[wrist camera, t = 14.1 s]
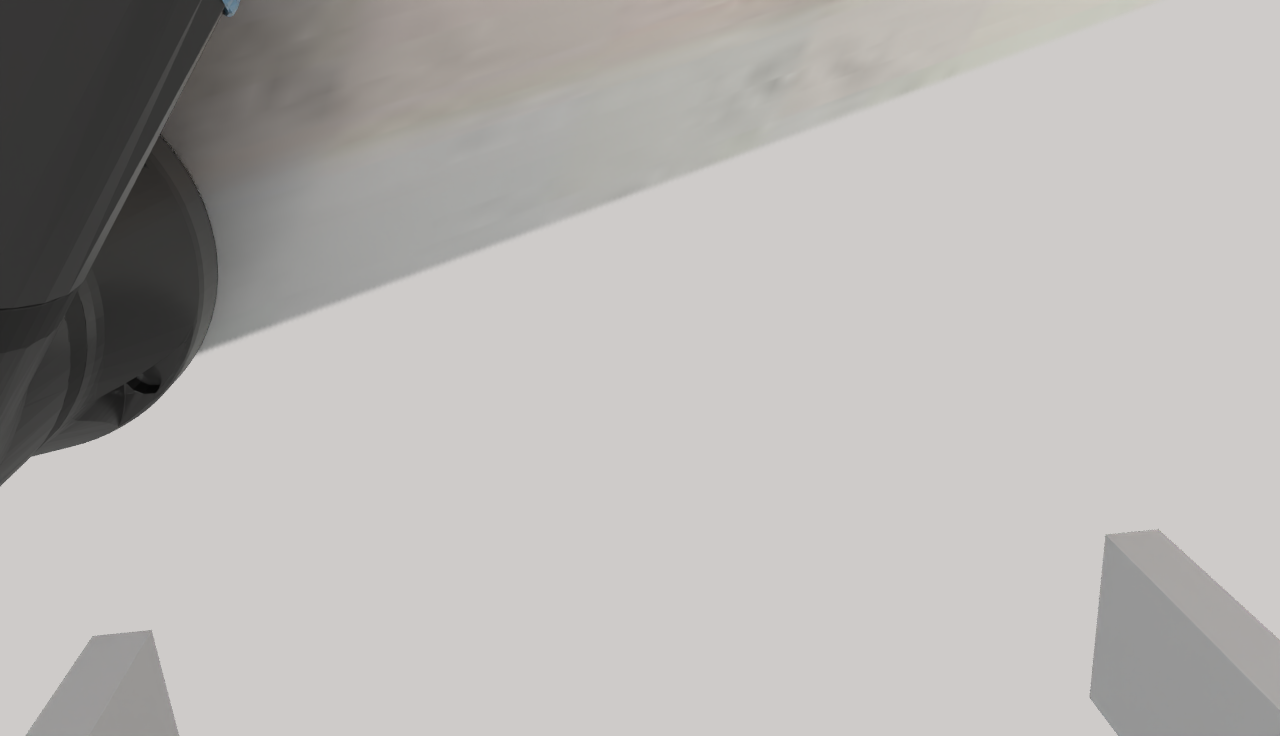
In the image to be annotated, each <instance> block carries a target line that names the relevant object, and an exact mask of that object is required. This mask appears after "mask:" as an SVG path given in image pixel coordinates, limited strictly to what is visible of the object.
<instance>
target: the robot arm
mask: <svg viewBox="0 0 1280 736" xmlns="http://www.w3.org/2000/svg"><path fill="white" fill-rule="evenodd" d="M239 3H240V0H0V486H1V485H2V484H3V483H4V482H5V481H6V480H7V479H8V478H9V477H10V476H11V475H12V474H13V473H14V472H15V471H17V469H19V467H21V466H22V465H23V464H24V463H25V462H26V461H27V460H28V459H29V458H30V457H31V456H35V455H39V454H44V453H48V452H51V451H56V450H60V449H64V448H68V447H71V446H75V445H79V444H83V443H86V442H89V441H91V440H94V439H97V438H99V437H102V436H104V435H106V434H109V433H111V432H112V431H114V430H116V429H118V428H120V427H122V426H123V425H125V424H127V423H128V422H130V421H132V420H133V419H135V418H136V417H138V416H139V415H140V414H142V413H143V412H144V411H146V410H147V409H148V408H149V407H150V406H151V405H153V404H154V403H155V402H156V401H157V400H158V399H159V398H160V397H161V396H162V395H163V394H164V393H165V392H166V390H167V389H168V388H169V387H170V386H171V385H172V384H173V383H174V381H176V380H177V378H178V377H179V376H180V375H181V374H182V373H183V371H184V370H185V369H186V368H187V366H188V365H189V364H190V362H191V361H192V359H193V358H194V356H195V355H196V353H197V351H198V349H199V347H200V346H201V344H202V342H203V339H204V337H205V335H206V332H207V330H208V327H209V324H210V321H211V318H212V314H213V309H214V305H215V299H216V291H217V258H216V249H215V243H214V237H213V233H212V229H211V225H210V222H209V219H208V216H207V213H206V210H205V207H204V205H203V202H202V200H201V198H200V195H199V193H198V191H197V189H196V187H195V185H194V183H193V181H192V180H191V178H190V176H189V175H188V173H187V171H186V169H185V168H184V166H183V165H182V164H181V162H180V161H179V159H178V158H177V156H176V155H175V154H174V152H173V151H172V150H171V148H170V147H169V146H168V145H167V143H166V142H165V141H164V140H163V139H162V138H161V137H160V136H159V135H160V133H161V131H162V129H163V127H164V125H165V123H166V121H167V119H168V118H169V116H170V114H171V112H172V110H173V108H174V106H175V104H176V102H177V100H178V98H179V96H180V94H181V92H182V91H183V89H184V87H185V85H186V83H187V81H188V79H189V77H190V75H191V73H192V71H193V69H194V67H195V65H196V63H197V62H198V60H199V58H200V56H201V54H202V52H203V50H204V48H205V46H206V44H207V42H208V40H209V38H210V36H211V35H212V33H213V31H214V29H215V27H216V25H217V23H218V21H219V19H220V17H221V15H222V14H224V15H226V16H228V17H231V16H233V15H234V14H235V12H236V11H237V9H238V7H239ZM1090 699H1091V700H1092V701H1093V703H1094V704H1095V705H1096V707H1097V708H1098V709H1099V711H1100V712H1101V713H1102V715H1103V716H1104V717H1105V719H1106V720H1107V721H1108V723H1109V724H1110V725H1111V727H1112V728H1113V729H1114V731H1115V732H1116V733H1117V735H1118V736H1280V640H1279V639H1278V638H1277V637H1276V636H1275V635H1274V634H1273V633H1271V632H1270V631H1269V630H1268V629H1267V628H1266V627H1265V626H1264V625H1263V624H1262V623H1260V622H1259V621H1258V620H1257V619H1256V618H1255V617H1254V616H1253V615H1252V614H1251V613H1249V612H1248V611H1247V610H1246V609H1245V608H1244V607H1243V606H1242V605H1241V604H1239V602H1237V601H1236V600H1235V599H1234V598H1233V597H1232V596H1231V595H1230V594H1229V593H1228V592H1227V591H1225V590H1224V589H1223V588H1222V587H1221V586H1220V585H1219V584H1218V583H1217V582H1216V581H1214V580H1213V579H1212V578H1211V577H1210V576H1209V575H1208V574H1207V573H1206V572H1205V571H1203V570H1202V569H1201V568H1200V567H1199V566H1198V565H1197V564H1196V563H1195V562H1194V561H1193V560H1191V559H1190V558H1189V557H1188V556H1187V555H1186V554H1185V553H1184V552H1183V551H1182V550H1180V549H1179V548H1178V547H1177V546H1176V545H1175V544H1174V543H1173V542H1172V541H1171V540H1169V539H1168V538H1167V537H1166V536H1165V535H1164V534H1163V533H1162V532H1161V531H1159V530H1148V531H1138V532H1128V533H1118V534H1108V535H1106V536H1105V547H1104V557H1103V566H1102V577H1101V587H1100V597H1099V607H1098V618H1097V628H1096V638H1095V649H1094V658H1093V668H1092V679H1091V689H1090ZM26 736H179V734H178V730H177V727H176V723H175V719H174V715H173V711H172V707H171V704H170V700H169V696H168V692H167V689H166V685H165V680H164V677H163V673H162V669H161V665H160V661H159V657H158V654H157V650H156V646H155V642H154V638H153V634H152V631H151V630H149V631H140V632H129V633H120V634H110V635H100V636H93V637H92V638H91V640H90V641H89V643H88V644H87V646H86V647H85V648H84V650H83V651H82V653H81V654H80V656H79V658H78V659H77V660H76V662H75V663H74V665H73V666H72V668H71V669H70V671H69V672H68V674H67V675H66V677H65V678H64V680H63V681H62V683H61V684H60V685H59V687H58V689H57V690H56V691H55V693H54V695H53V696H52V697H51V699H50V700H49V702H48V703H47V705H46V706H45V708H44V709H43V711H42V712H41V714H40V715H39V717H38V718H37V720H36V721H35V722H34V724H33V725H32V727H31V728H30V730H29V731H28V733H27V735H26Z"/></svg>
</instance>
